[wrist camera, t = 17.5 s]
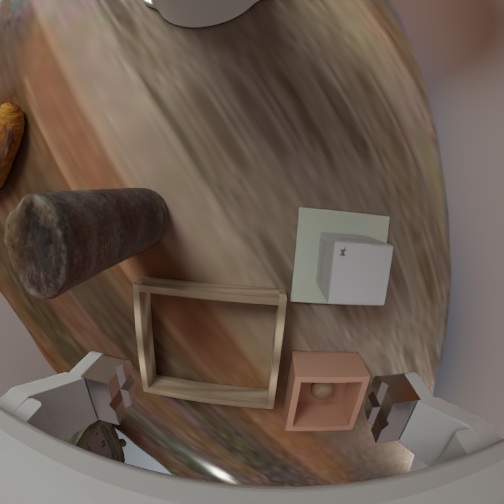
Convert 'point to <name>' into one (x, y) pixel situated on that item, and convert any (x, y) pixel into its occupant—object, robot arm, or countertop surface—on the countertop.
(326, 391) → the cork ball
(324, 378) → the pot
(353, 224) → the plate
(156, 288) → the crate
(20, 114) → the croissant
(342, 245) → the product box
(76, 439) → the tabletop clock
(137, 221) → the grey brown tall cylinder
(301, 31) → the countertop surface
